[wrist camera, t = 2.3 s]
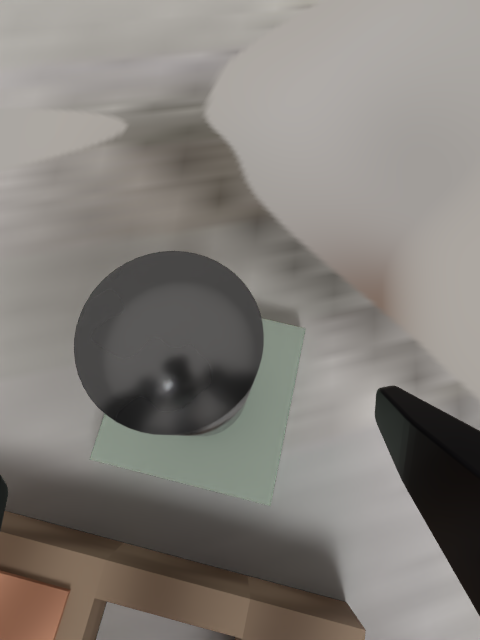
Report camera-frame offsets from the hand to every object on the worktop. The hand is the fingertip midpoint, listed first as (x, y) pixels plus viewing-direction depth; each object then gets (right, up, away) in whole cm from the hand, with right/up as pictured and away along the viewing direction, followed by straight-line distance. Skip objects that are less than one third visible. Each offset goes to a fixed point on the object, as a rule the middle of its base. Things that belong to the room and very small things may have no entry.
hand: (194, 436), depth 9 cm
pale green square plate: (-1, -1, +10) cm, 10 cm away
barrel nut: (-1, 0, +9) cm, 9 cm away
